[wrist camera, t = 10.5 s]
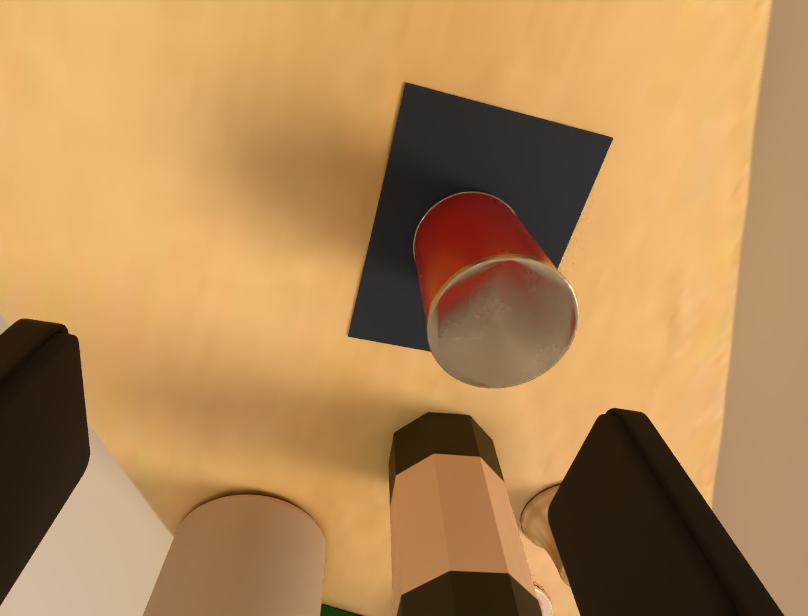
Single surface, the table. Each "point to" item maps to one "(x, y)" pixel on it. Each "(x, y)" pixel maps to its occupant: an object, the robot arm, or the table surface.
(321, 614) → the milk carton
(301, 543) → the cylinder vase
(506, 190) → the placemat
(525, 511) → the hand bell
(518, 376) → the tin can
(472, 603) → the wine bottle
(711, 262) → the table surface
